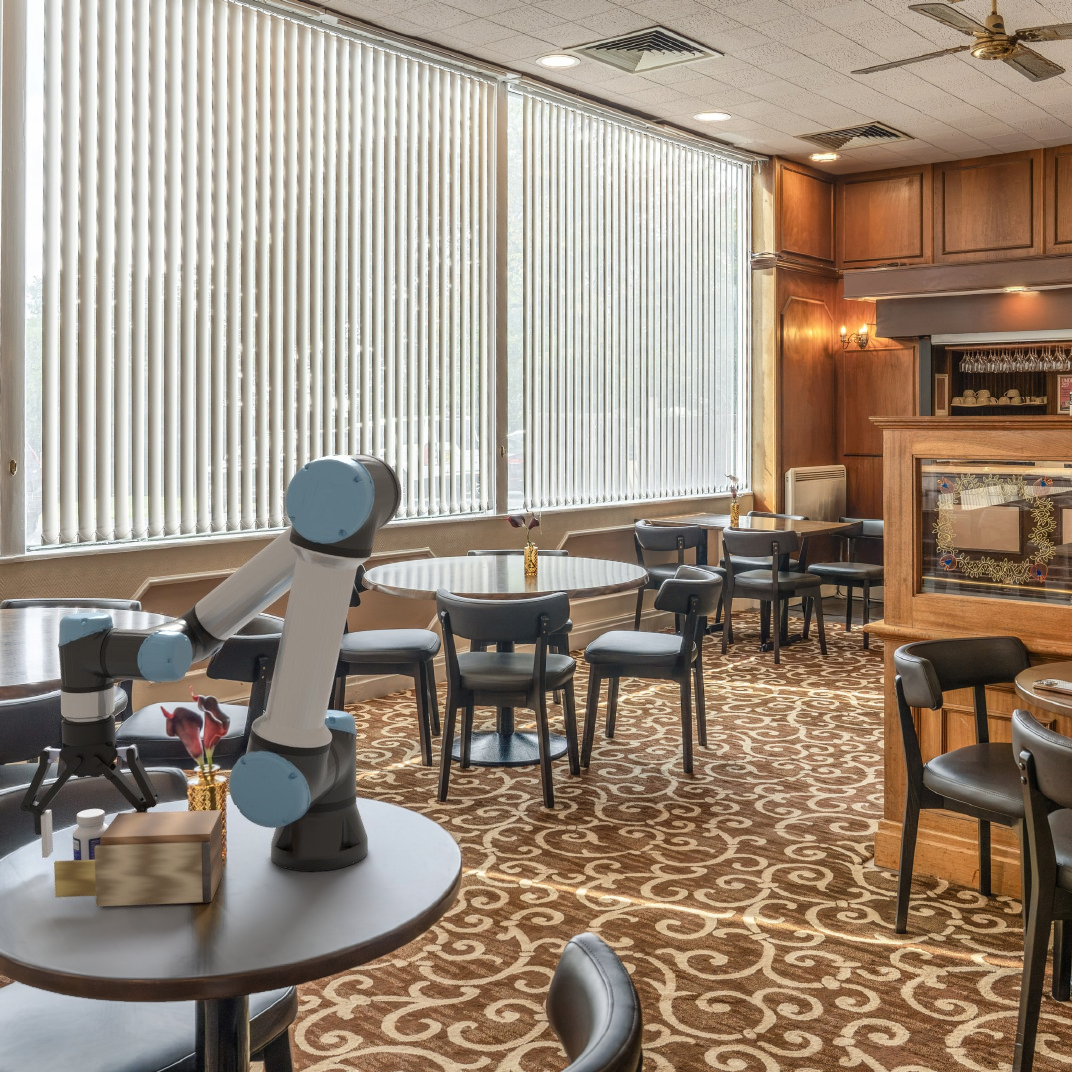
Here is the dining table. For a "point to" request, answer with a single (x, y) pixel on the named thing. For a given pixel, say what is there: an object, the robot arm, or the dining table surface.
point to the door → (139, 874)
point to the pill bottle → (88, 833)
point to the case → (171, 833)
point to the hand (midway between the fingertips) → (92, 853)
